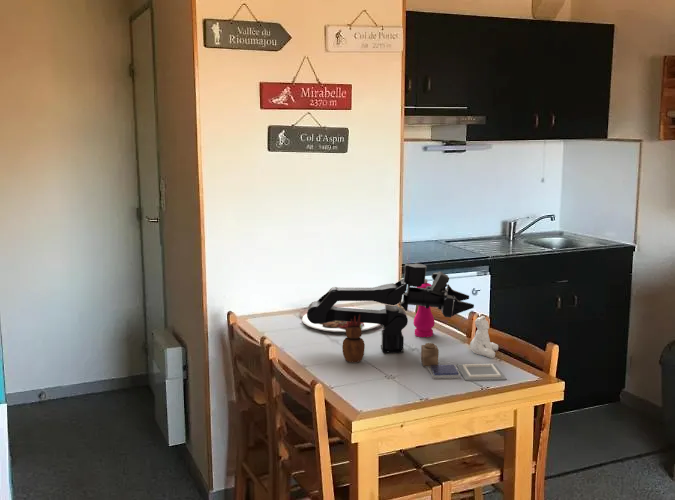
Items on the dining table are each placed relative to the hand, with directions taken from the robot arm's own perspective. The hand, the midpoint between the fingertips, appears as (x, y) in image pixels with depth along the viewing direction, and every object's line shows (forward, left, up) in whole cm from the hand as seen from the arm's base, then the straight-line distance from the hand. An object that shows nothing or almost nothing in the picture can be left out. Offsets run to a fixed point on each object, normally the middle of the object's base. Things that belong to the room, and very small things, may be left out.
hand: (471, 301), depth 229 cm
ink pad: (-12, -20, -16) cm, 29 cm away
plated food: (-39, +33, -17) cm, 54 cm away
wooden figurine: (-38, -8, -16) cm, 43 cm away
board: (-1, -20, -16) cm, 26 cm away
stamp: (-15, -12, -16) cm, 26 cm away
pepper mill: (-12, +17, -16) cm, 26 cm away
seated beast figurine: (+4, -2, -16) cm, 17 cm away
